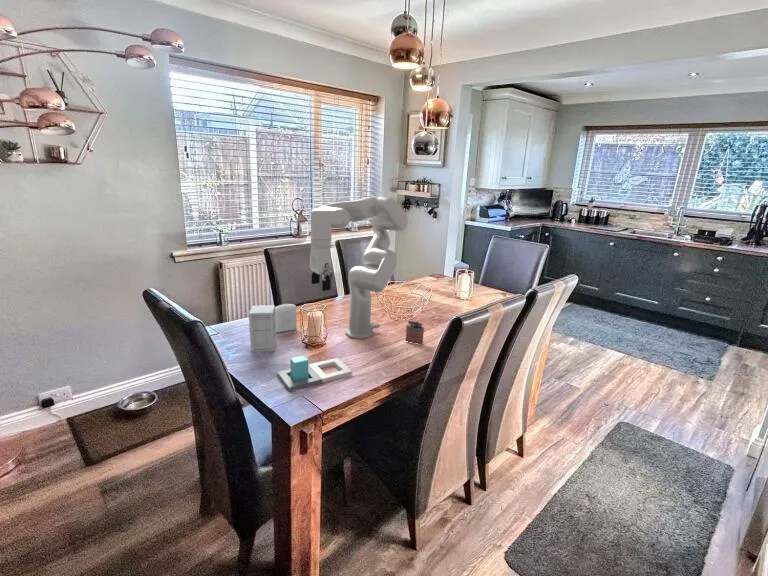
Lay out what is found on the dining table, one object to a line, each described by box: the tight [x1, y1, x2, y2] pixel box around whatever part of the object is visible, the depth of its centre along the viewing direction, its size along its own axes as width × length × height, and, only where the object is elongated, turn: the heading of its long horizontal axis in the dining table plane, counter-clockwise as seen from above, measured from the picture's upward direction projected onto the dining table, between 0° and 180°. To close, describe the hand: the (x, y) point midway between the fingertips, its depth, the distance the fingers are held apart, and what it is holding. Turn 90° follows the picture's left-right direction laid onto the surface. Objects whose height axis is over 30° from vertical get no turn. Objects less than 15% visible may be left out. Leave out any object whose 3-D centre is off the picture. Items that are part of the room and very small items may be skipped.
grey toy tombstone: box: [275, 303, 297, 333], centre depth 180 cm, size 10×4×12 cm, turn 123°
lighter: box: [404, 319, 425, 344], centre depth 174 cm, size 8×3×10 cm, turn 71°
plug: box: [289, 354, 309, 383], centre depth 140 cm, size 5×4×8 cm
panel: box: [276, 357, 353, 392], centre depth 144 cm, size 24×12×2 cm, turn 123°
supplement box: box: [248, 304, 277, 353], centre depth 161 cm, size 10×9×17 cm
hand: (320, 286), depth 152 cm, fingers open, 9 cm apart
